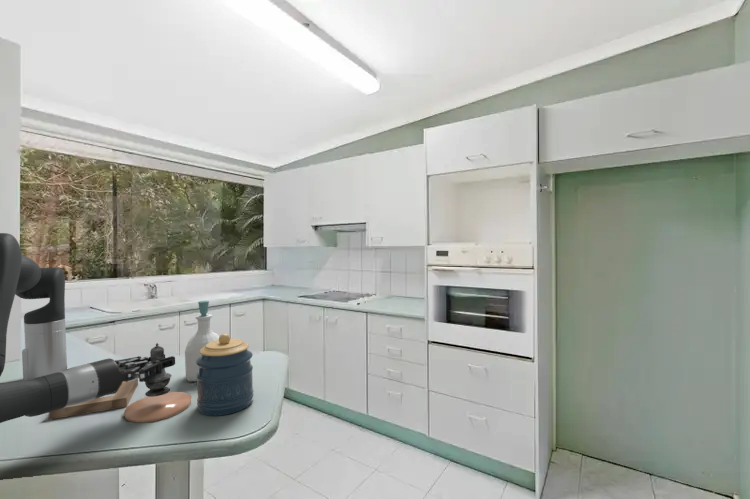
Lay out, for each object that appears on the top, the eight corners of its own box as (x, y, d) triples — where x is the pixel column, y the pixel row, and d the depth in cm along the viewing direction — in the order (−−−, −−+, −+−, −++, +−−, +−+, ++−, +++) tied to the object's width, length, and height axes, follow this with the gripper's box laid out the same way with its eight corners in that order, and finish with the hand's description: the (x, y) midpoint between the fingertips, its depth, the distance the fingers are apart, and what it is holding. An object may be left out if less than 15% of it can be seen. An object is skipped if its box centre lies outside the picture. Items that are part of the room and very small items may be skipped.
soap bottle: (224, 369, 116) (222, 297, 115) (220, 380, 106) (218, 302, 106) (191, 372, 113) (189, 299, 112) (184, 384, 104) (181, 304, 103)
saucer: (118, 427, 80) (117, 423, 80) (131, 402, 93) (131, 398, 93) (189, 414, 86) (189, 410, 86) (192, 391, 98) (192, 388, 98)
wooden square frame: (49, 419, 84) (48, 410, 84) (72, 394, 98) (71, 386, 98) (126, 406, 90) (126, 397, 90) (138, 384, 104) (137, 377, 104)
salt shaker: (158, 398, 85) (158, 346, 85) (137, 396, 87) (136, 345, 86) (177, 388, 91) (176, 340, 91) (157, 386, 92) (156, 339, 92)
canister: (259, 407, 89) (257, 335, 88) (200, 422, 82) (198, 344, 81) (247, 389, 100) (245, 325, 99) (194, 401, 93) (192, 332, 92)
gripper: (104, 369, 73) (186, 347, 88) (72, 359, 80) (153, 340, 95) (105, 407, 73) (186, 378, 88) (73, 393, 80) (153, 369, 95)
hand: (168, 359), depth 91 cm, fingers closed on salt shaker, 3 cm apart
